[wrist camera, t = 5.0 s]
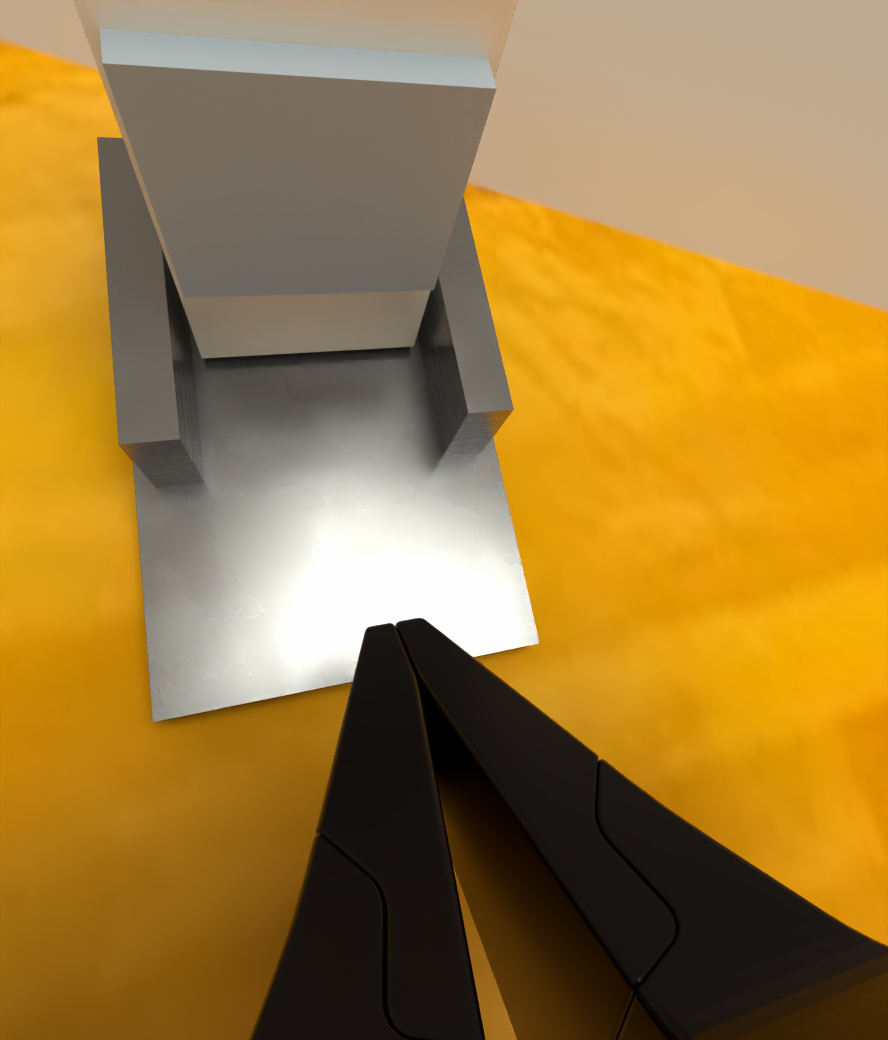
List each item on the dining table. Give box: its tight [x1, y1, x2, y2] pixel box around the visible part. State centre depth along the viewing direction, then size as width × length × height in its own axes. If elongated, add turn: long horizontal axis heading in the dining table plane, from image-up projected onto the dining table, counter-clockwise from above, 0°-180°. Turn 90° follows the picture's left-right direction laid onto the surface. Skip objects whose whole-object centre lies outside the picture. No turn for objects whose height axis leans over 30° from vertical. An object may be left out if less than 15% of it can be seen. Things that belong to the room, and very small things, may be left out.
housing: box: [97, 137, 539, 722], centre depth 15 cm, size 14×10×4 cm
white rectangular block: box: [74, 0, 518, 358], centre depth 11 cm, size 4×6×12 cm
